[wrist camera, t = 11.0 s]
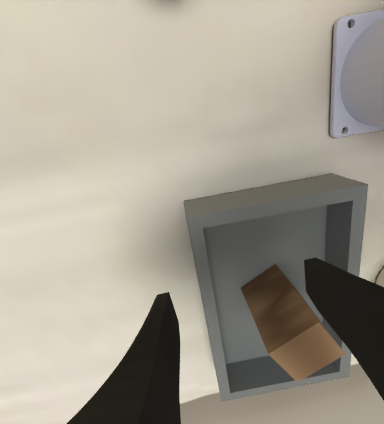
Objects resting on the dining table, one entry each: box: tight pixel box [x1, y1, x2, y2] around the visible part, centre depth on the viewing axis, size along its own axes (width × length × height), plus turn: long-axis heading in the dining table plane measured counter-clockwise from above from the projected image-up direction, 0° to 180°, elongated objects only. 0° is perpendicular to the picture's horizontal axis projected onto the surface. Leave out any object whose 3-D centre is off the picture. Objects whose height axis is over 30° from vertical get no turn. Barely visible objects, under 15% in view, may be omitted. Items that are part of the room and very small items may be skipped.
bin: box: [184, 174, 368, 401], centre depth 22 cm, size 13×20×4 cm, turn 10°
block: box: [241, 264, 345, 383], centre depth 20 cm, size 4×4×7 cm
